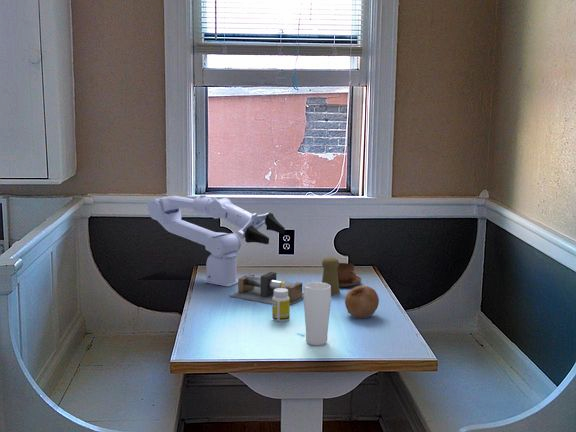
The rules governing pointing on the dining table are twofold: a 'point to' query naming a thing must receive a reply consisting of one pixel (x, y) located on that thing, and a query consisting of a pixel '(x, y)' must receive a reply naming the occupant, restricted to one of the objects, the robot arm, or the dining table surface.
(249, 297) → the mat
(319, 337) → the drinking glass
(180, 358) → the dining table surface
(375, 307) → the onion
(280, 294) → the supplement bottle
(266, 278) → the dark grey upright slab
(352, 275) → the cup and saucer
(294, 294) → the rod holder
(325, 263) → the cork
